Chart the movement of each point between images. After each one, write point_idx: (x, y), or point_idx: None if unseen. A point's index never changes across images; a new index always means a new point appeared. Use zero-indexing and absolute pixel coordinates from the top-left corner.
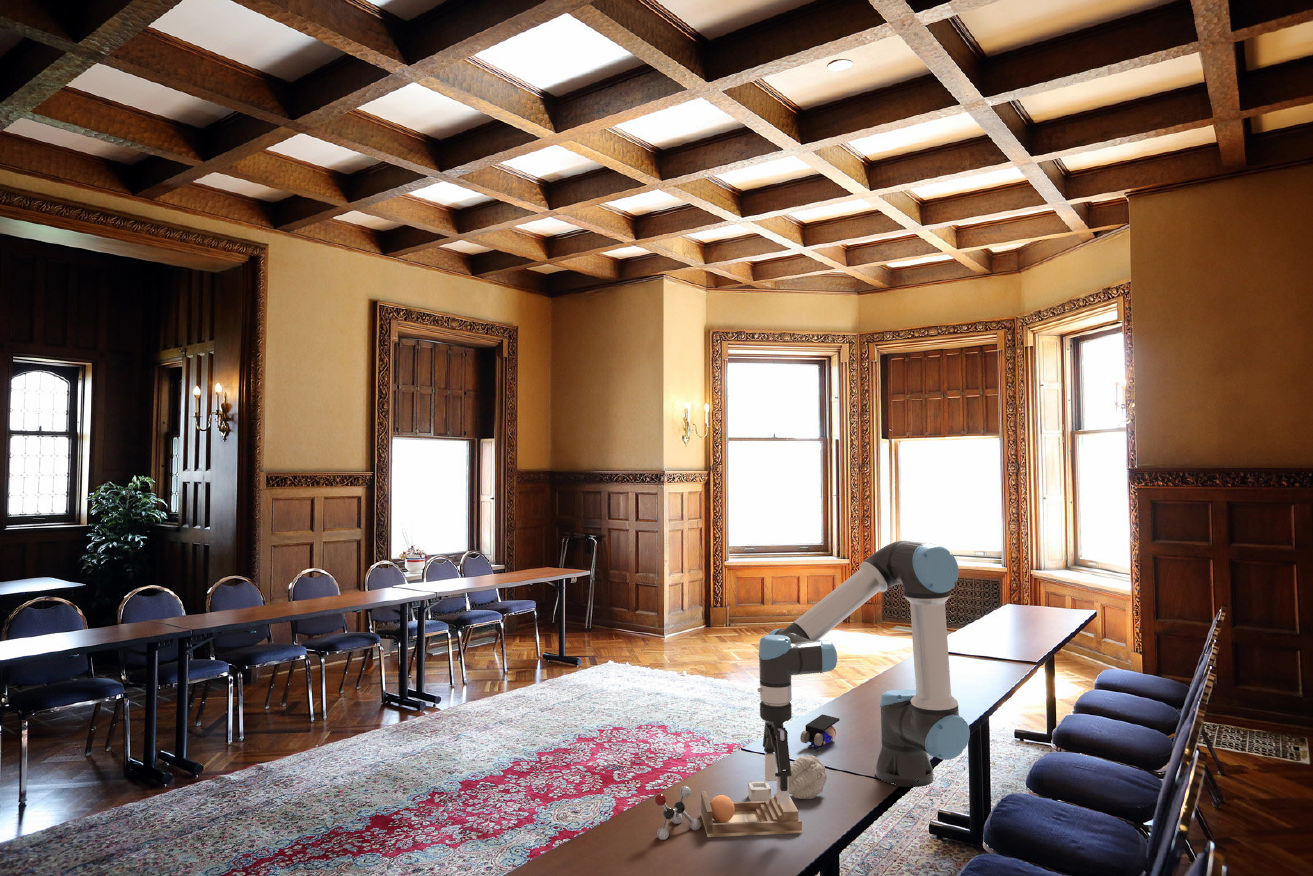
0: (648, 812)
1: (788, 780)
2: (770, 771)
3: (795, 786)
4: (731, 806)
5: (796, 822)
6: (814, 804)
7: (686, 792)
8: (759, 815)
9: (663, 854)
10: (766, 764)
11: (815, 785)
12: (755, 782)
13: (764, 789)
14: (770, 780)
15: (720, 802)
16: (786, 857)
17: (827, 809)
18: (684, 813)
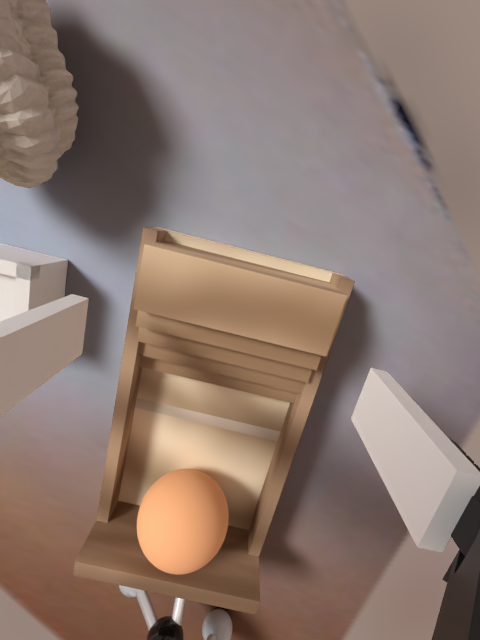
0: (55, 597)
1: (457, 452)
2: (54, 348)
3: (47, 149)
4: (214, 516)
5: (347, 302)
6: (99, 75)
7: None
8: (205, 379)
9: (290, 630)
10: (22, 393)
11: (39, 13)
12: None
13: (28, 295)
14: (82, 332)
15: (204, 564)
16: (444, 387)
17: (161, 41)
18: (182, 616)
